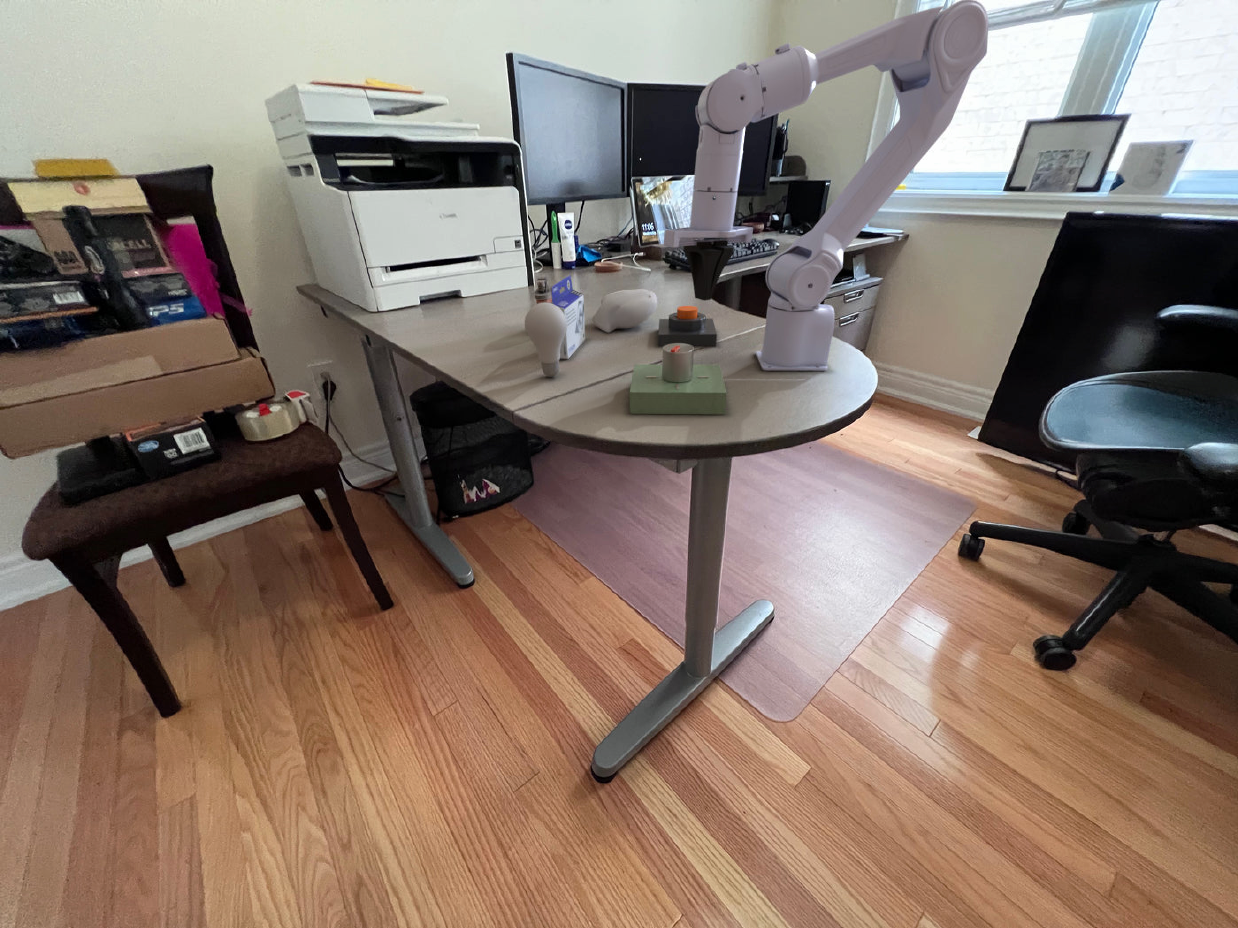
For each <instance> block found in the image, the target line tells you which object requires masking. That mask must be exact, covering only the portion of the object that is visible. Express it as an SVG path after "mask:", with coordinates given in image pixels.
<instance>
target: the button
mask: <svg viewBox="0 0 1238 928" xmlns="http://www.w3.org/2000/svg"><path fill="white" fill-rule="evenodd" d="M698 310H699V309H698V307H697V306H693V305H681V306H678V307H676V312H677V318H679V319H695V318H697V312H698Z"/></svg>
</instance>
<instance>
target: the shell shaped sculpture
mask: <svg viewBox="0 0 1238 928" xmlns="http://www.w3.org/2000/svg"><path fill="white" fill-rule="evenodd" d="M657 307H658V296H657V295H656V293H655V292H654V291H650V290H648V289H644V288H636V289H635V288H634V289H622V290H621V289H620V290H618V291H614V292H610V293H608V294H605V295H603V296H602V298H601V300H600V306H599V307H598V309H597V310H596V312H595V314H593V316H592V317H591V321H592V323H593V325H594V326H595V327H597V328H598V329H600V330H601V331H603V332H606V333H611V332H613V331H614V330H617V329H631V328H632V329H633V328H635V327H637V326H639V325H640V324H642V323H644V322H646V321H647V320H648V319H649V318H651V317H652V315H653V314H654V313H655V311H656V309H657Z"/></svg>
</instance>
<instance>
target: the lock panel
mask: <svg viewBox="0 0 1238 928" xmlns="http://www.w3.org/2000/svg"><path fill="white" fill-rule="evenodd" d="M630 383H631V384H630V388H629V414H630V415H721V416H722V415H726V407H727V406H726V405H727V394H728V393H727V388H726V385H725V379H724V376H723V372H722V367H721V364H693V377H692V379H691V380H689V381H687V382H681V383H674V382H668V381H666V380H664V379H663V378H662V364H634V365H633V371H632V377H631V382H630Z"/></svg>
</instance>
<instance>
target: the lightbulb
mask: <svg viewBox="0 0 1238 928" xmlns="http://www.w3.org/2000/svg"><path fill="white" fill-rule="evenodd" d="M524 329H525V332H526V334H527V336H528V338H529V339H530V341H531V342H532V343H533V345H534V347H535V349H536V351H537V354H538V355H537V356H538V359H539V361H540V363H541V364H540V365H541V369H542V373H543V374H544V375H546V376H547V377H549V378H553V377H555V376H556V375H558V374H559V373H560V360H561V359H560V347H561V343H562V341H563V339H564V336H565V333H566V331H567V320H566V317H565V315H564V313H563V312H562V310H561V309H560V308H559V307H557V306H556V305H554V304H551V303H539V304H537V303H536V304H534V305H533V306H532V307H530V308H529V310H528V311H527V313H526V315H525V317H524Z"/></svg>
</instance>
